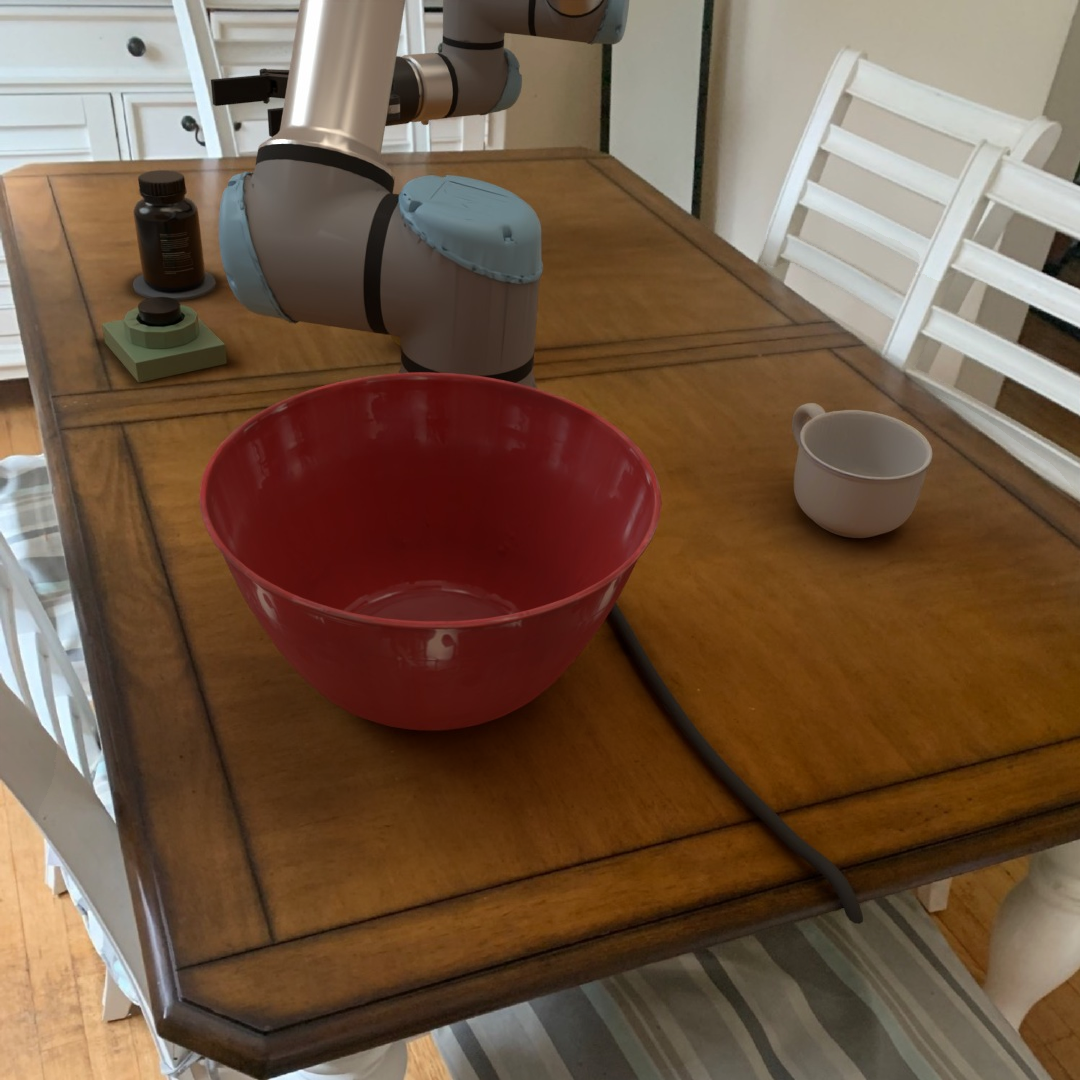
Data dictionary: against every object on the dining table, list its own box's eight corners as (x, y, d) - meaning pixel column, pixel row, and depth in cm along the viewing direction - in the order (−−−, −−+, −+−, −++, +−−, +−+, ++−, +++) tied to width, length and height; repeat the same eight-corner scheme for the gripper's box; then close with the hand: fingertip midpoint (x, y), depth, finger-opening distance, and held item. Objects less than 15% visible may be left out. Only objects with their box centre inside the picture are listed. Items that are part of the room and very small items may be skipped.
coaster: (228, 292, 128) (227, 289, 128) (149, 307, 123) (149, 303, 123) (198, 265, 134) (197, 262, 133) (122, 278, 129) (121, 274, 129)
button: (188, 324, 112) (186, 308, 111) (148, 332, 110) (146, 315, 109) (173, 309, 115) (171, 293, 114) (134, 317, 113) (131, 300, 112)
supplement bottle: (214, 273, 131) (204, 170, 124) (193, 296, 125) (181, 189, 118) (156, 267, 131) (142, 163, 124) (133, 290, 126) (117, 182, 119)
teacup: (932, 547, 96) (959, 466, 91) (819, 561, 93) (840, 479, 88) (851, 462, 106) (871, 386, 102) (747, 473, 103) (763, 395, 99)
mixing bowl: (496, 893, 64) (512, 691, 55) (129, 696, 74) (92, 501, 65) (695, 629, 84) (729, 451, 75) (385, 505, 95) (383, 336, 86)
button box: (227, 364, 114) (223, 327, 111) (138, 383, 109) (132, 345, 107) (189, 326, 120) (185, 290, 118) (104, 343, 116) (98, 306, 113)
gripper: (464, 149, 129) (297, 174, 117) (352, 97, 144) (195, 114, 133) (466, 81, 125) (294, 99, 113) (350, 34, 140) (188, 46, 129)
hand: (240, 107), depth 123 cm, fingers open, 13 cm apart
